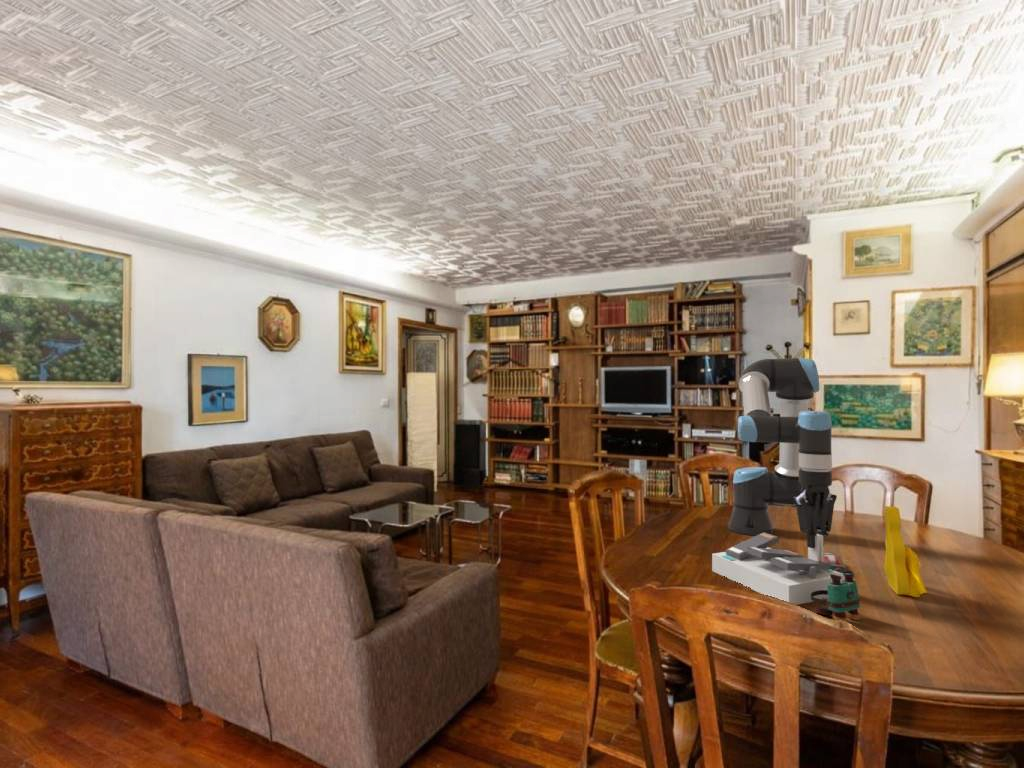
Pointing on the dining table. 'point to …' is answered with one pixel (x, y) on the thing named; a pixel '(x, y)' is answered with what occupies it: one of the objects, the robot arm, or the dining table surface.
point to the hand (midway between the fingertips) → (815, 559)
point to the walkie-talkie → (834, 562)
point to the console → (774, 577)
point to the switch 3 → (800, 563)
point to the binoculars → (840, 598)
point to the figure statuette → (900, 559)
